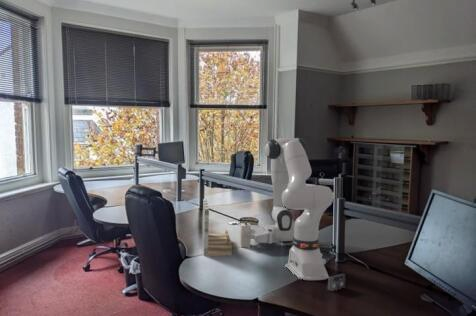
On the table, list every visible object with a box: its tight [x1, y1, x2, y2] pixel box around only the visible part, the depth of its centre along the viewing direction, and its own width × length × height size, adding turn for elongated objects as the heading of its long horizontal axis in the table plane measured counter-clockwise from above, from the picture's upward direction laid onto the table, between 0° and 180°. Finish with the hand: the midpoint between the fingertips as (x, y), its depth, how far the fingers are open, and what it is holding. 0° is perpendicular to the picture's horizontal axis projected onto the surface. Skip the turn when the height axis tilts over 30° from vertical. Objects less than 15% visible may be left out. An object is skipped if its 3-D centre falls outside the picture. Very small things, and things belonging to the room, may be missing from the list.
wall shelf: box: [202, 198, 233, 257], centre depth 197 cm, size 24×14×24 cm, turn 7°
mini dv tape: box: [326, 273, 347, 292], centre depth 152 cm, size 8×2×6 cm, turn 118°
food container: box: [238, 216, 260, 225], centre depth 224 cm, size 12×6×10 cm, turn 74°
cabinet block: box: [239, 221, 251, 248], centre depth 202 cm, size 5×5×14 cm
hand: (243, 233), depth 202 cm, fingers open, 8 cm apart
